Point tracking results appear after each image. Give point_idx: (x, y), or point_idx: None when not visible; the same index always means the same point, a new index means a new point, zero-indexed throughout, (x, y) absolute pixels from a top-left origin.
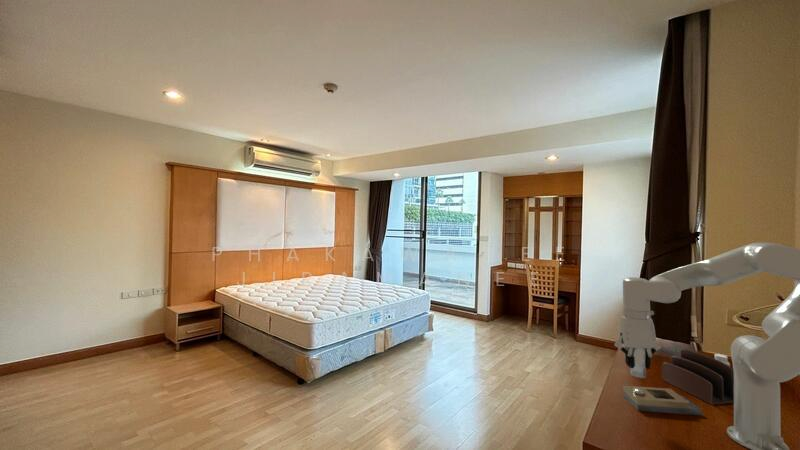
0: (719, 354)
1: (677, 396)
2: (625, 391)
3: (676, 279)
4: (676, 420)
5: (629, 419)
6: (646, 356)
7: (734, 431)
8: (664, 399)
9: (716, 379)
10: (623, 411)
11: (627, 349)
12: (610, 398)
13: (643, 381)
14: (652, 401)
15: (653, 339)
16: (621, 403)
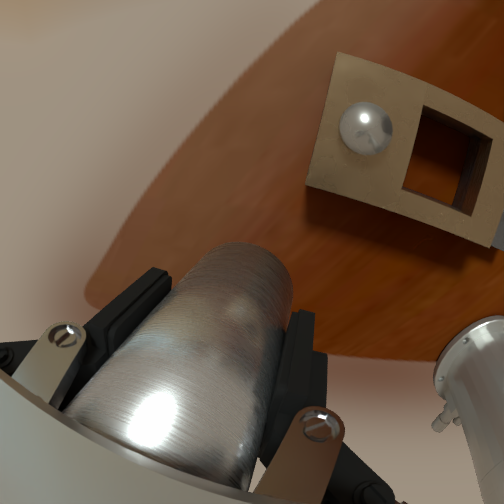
0: None
1: (496, 195)
2: (331, 76)
3: None
4: (395, 257)
5: (227, 229)
6: (264, 444)
7: (466, 349)
8: (427, 207)
9: None
10: (242, 177)
11: (56, 381)
12: (259, 78)
13: (492, 3)
14: (368, 202)
15: None
16: (279, 119)
